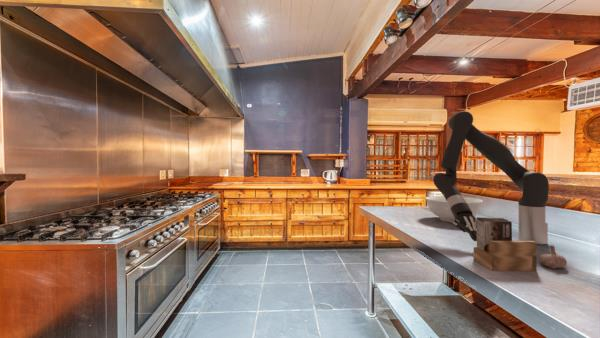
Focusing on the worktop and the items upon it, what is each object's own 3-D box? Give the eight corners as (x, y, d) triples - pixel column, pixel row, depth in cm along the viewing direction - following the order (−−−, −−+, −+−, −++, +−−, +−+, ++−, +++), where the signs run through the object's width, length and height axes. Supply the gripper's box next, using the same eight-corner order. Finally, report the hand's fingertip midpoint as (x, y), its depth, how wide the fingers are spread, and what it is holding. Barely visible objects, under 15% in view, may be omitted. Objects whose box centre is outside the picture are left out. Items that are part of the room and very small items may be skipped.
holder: (513, 260, 92) (513, 234, 92) (536, 270, 82) (536, 242, 82) (473, 260, 92) (473, 234, 92) (492, 270, 83) (492, 241, 83)
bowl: (419, 221, 157) (419, 199, 157) (431, 213, 182) (431, 194, 181) (480, 229, 136) (480, 203, 136) (484, 219, 160) (484, 197, 160)
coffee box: (503, 259, 93) (503, 217, 93) (512, 265, 87) (513, 221, 86) (475, 256, 95) (475, 216, 95) (483, 263, 89) (483, 220, 89)
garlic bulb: (551, 271, 82) (551, 248, 82) (532, 262, 90) (532, 241, 90) (574, 271, 82) (574, 248, 82) (553, 262, 89) (553, 241, 89)
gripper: (447, 201, 110) (465, 236, 98) (476, 201, 110) (498, 236, 98) (441, 211, 116) (457, 244, 104) (468, 211, 115) (488, 244, 103)
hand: (477, 240), depth 101 cm, fingers closed
